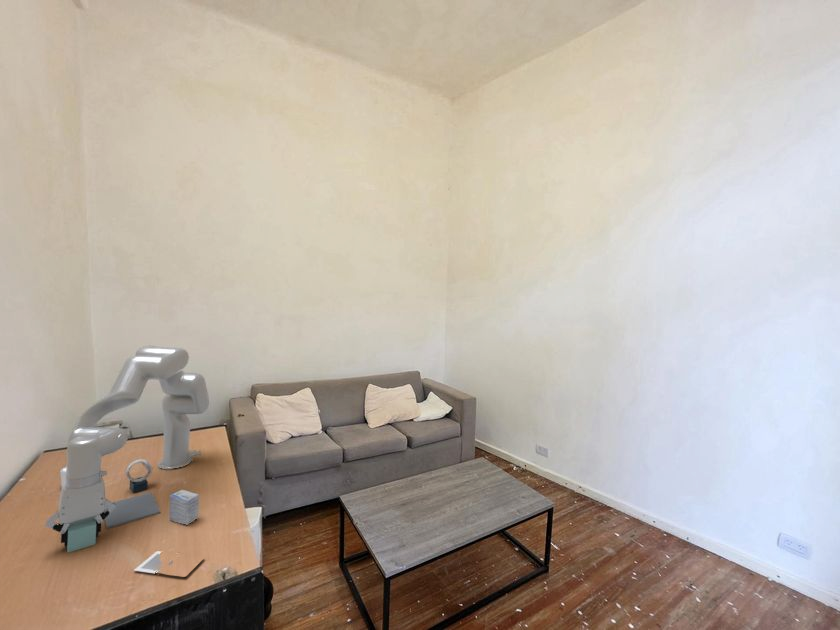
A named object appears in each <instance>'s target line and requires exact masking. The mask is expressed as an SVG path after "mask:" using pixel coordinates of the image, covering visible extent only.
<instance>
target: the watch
mask: <svg viewBox="0 0 840 630" xmlns="http://www.w3.org/2000/svg"><path fill="white" fill-rule="evenodd" d="M139 463H141V464H142V465H143V467H145V469H146V470H147V473H146V474H145V475H144V476H143V475H142V476H139V477H137V478H134V477H132V476H131V474H130V469H131V468H132V466H134V465H135V464H136V465H137V464H139ZM152 470H153V467H152V466H151V464H150V463H149V461H148V460H147V459H145V458H144V459H143V458H138V459H136V460H134V461H132V462H130V463H129V464H128V465H127V467H126V469H125V474H126V476H127V478H128V480H129V489H130V491H131V493H132V494H136V493H137V494H138V493H140V492H144V491H147V490H148V487H149V486H148V484H149V483H148V481H149V480H147V479H148V478H149V477H150V476H151V474H152V472H153V471H152Z"/></svg>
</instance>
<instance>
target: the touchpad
mask: <svg viewBox="0 0 840 630" xmlns="http://www.w3.org/2000/svg"><path fill="white" fill-rule="evenodd" d="M161 552H162V551H161V550H160V551H158V550H157V551H155V552H153V554H151V555H150V556H149V557H148V558H147V559H146V560H143V562H142V563H140V564H139V565H138V566H137V567H136V568H134V569H133V571H136V572H141V573H149V574H155V572H156V571H157V572H158V571H161V570H159V569H158V568H161V567H162V566H159V567H158V565H161V564H162V562H160V561H159V559H160V553H161ZM157 554H158V556H157ZM178 556H179V555H178ZM172 563H173V559H172V560H170V561H169V564H168V565H171V564H172ZM156 568H157V569H156ZM154 570H155V571H154ZM157 572H156V573H157Z"/></svg>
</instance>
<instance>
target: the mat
mask: <svg viewBox="0 0 840 630" xmlns="http://www.w3.org/2000/svg"><path fill="white" fill-rule="evenodd" d="M112 502H113V503H115V504H116V508H115V509H114V510H113V511H112V512H110V513H109V515H108V516H107V517H106V518H105V519H104V522H105V528H106V530H107V529H111V528H113V527H117V526H120V525H124V524H128V523H131V522H135V521H138V520H142V519H144V518H149V517H152V516H155V514H156V515H158V513H159V514H161V510H160V508H159V505H158V502H157V500H156V499H155V497H154V493H153V492H148V493H143V494H140V495H136V496H135V495H134V496H132V497H129V498H124V499H120V500H116V501H115V500H114V501H112ZM107 508H108V507H107V506H105V510H106V509H107Z"/></svg>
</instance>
